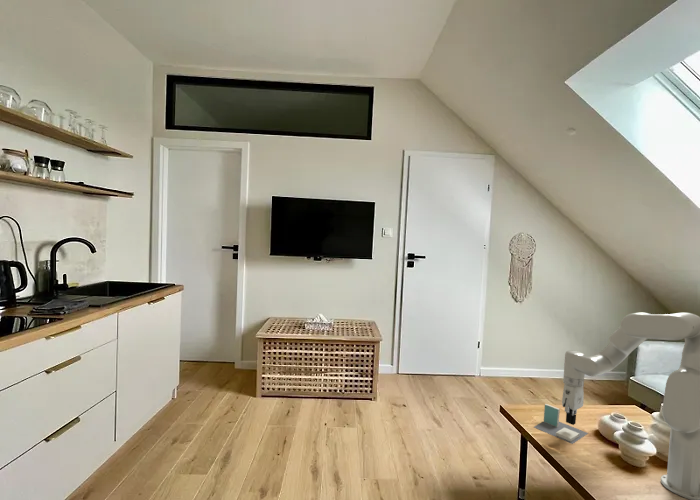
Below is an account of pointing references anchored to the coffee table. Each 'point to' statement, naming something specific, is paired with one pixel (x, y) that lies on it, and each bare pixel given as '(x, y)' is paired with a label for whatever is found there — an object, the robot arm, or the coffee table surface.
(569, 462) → the coffee table surface
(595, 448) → the coffee table surface
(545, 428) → the mat
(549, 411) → the tile
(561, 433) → the tile
